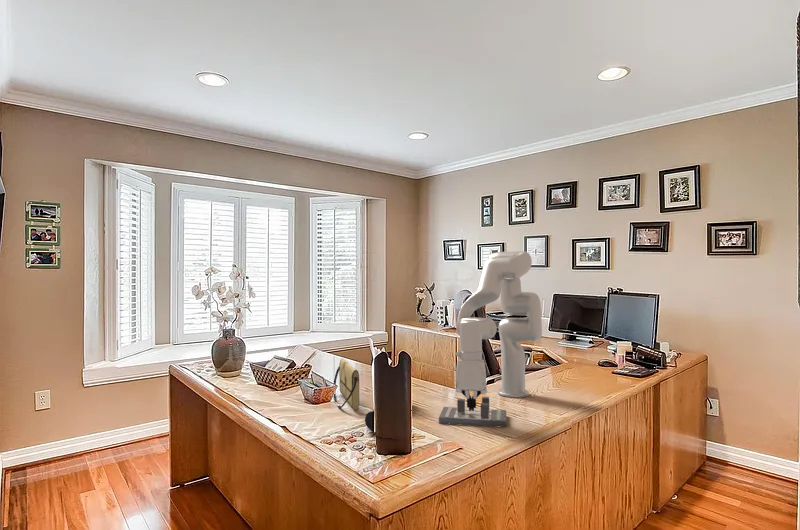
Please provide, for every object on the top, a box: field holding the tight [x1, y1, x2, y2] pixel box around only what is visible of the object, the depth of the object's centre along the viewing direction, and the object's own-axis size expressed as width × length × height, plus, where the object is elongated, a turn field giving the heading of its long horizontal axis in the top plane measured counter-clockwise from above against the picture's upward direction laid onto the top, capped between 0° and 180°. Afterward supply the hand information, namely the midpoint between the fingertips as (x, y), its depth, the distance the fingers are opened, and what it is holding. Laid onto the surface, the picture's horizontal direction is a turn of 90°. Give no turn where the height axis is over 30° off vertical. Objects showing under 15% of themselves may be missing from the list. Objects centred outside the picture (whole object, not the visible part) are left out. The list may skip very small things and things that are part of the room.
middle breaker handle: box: [456, 398, 466, 412], centre depth 160 cm, size 2×2×4 cm
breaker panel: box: [438, 406, 507, 428], centre depth 159 cm, size 13×22×2 cm, turn 77°
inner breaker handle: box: [481, 396, 490, 410], centre depth 163 cm, size 2×2×4 cm
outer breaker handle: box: [480, 402, 488, 418], centre depth 154 cm, size 2×2×4 cm
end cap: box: [364, 409, 375, 434], centre depth 150 cm, size 10×7×7 cm
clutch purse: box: [333, 358, 360, 411], centre depth 183 cm, size 30×7×15 cm, turn 18°
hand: (471, 409), depth 159 cm, fingers closed
